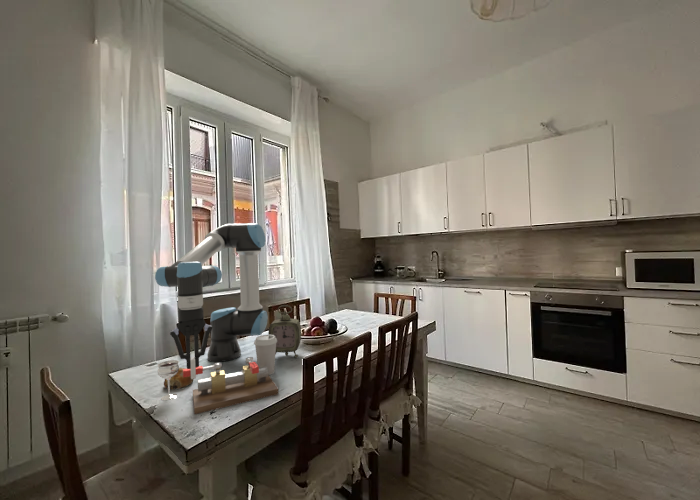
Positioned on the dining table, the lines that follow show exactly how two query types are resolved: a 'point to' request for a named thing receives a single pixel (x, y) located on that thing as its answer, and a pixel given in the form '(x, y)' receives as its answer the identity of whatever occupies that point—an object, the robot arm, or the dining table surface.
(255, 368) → the valve lever
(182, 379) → the bread roll
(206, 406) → the valve board
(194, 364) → the robot arm
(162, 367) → the wineglass
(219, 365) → the valve lever
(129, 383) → the dining table surface
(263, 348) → the coffee cup
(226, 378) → the manifold pipe
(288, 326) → the tabletop clock
